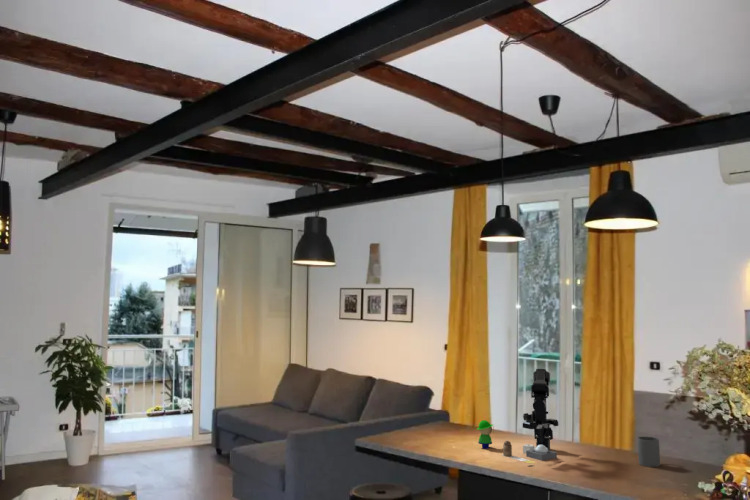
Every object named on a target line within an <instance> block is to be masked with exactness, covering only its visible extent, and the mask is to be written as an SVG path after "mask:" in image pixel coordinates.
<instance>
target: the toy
mask: <svg viewBox="0 0 750 500" xmlns="http://www.w3.org/2000/svg"><path fill="white" fill-rule="evenodd" d="M492 427H493V428H492ZM494 428H495V427H494V424H491V423H490V422H489V421H488V420H481V421H480V422H479V424H478V427H477V428H476V430H479V432H480V435H479V438H478V442H477V443H478V444H480V445H481V448H482V449H484V450H488V449H489V448H490V445H492V444H493V441H492V437H491V433H492V432H494Z"/></svg>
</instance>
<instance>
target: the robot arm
mask: <svg viewBox="0 0 750 500" xmlns="http://www.w3.org/2000/svg"><path fill="white" fill-rule="evenodd" d="M532 375H533V382H532V385H530V386H531V388H530V389H531V393H530V397H531V398H533V402H532V407H533V410H532V411H531V414H529V413H528V412H527V413H523V415H522V418H523V420H524V421H523V422H522V428H523V429H528V430H534V431H533V432H534V439H535V440H536V441H535V443H536V444H535V445H536V446H535V447H537V446H538V445H544V446H545V447H547V448H548V450H549V451H550V449H551V445H550V444H551V440H554V435H553V434H554V433H553V432H554V431H553V428H552V427H551V425H552V426H553V427H559V421H558V419H556V418H555V419H554V418H547V415H549V411H547V399H548V397H550V387H549V386H550V383H551V373H550V371H547V369H546V368H536V369H535V371H534V372H533V374H532Z"/></svg>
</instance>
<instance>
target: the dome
mask: <svg viewBox="0 0 750 500" xmlns="http://www.w3.org/2000/svg"><path fill="white" fill-rule="evenodd" d="M534 450H535V452H537V453H541V454H543V453H548V448H547V447H545V446H544V445H538V446H537V447H536V446H534Z"/></svg>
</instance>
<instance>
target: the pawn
mask: <svg viewBox="0 0 750 500" xmlns="http://www.w3.org/2000/svg"><path fill="white" fill-rule="evenodd" d="M502 446H503V448H502V450H503V453H502V455H504V456H503V457H505V456H511V457H513V456H512V455H513V452H512V451H513V449H512V446H513V445H512V444H511V441H509V440H505V441H504V442H503V445H502Z"/></svg>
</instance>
